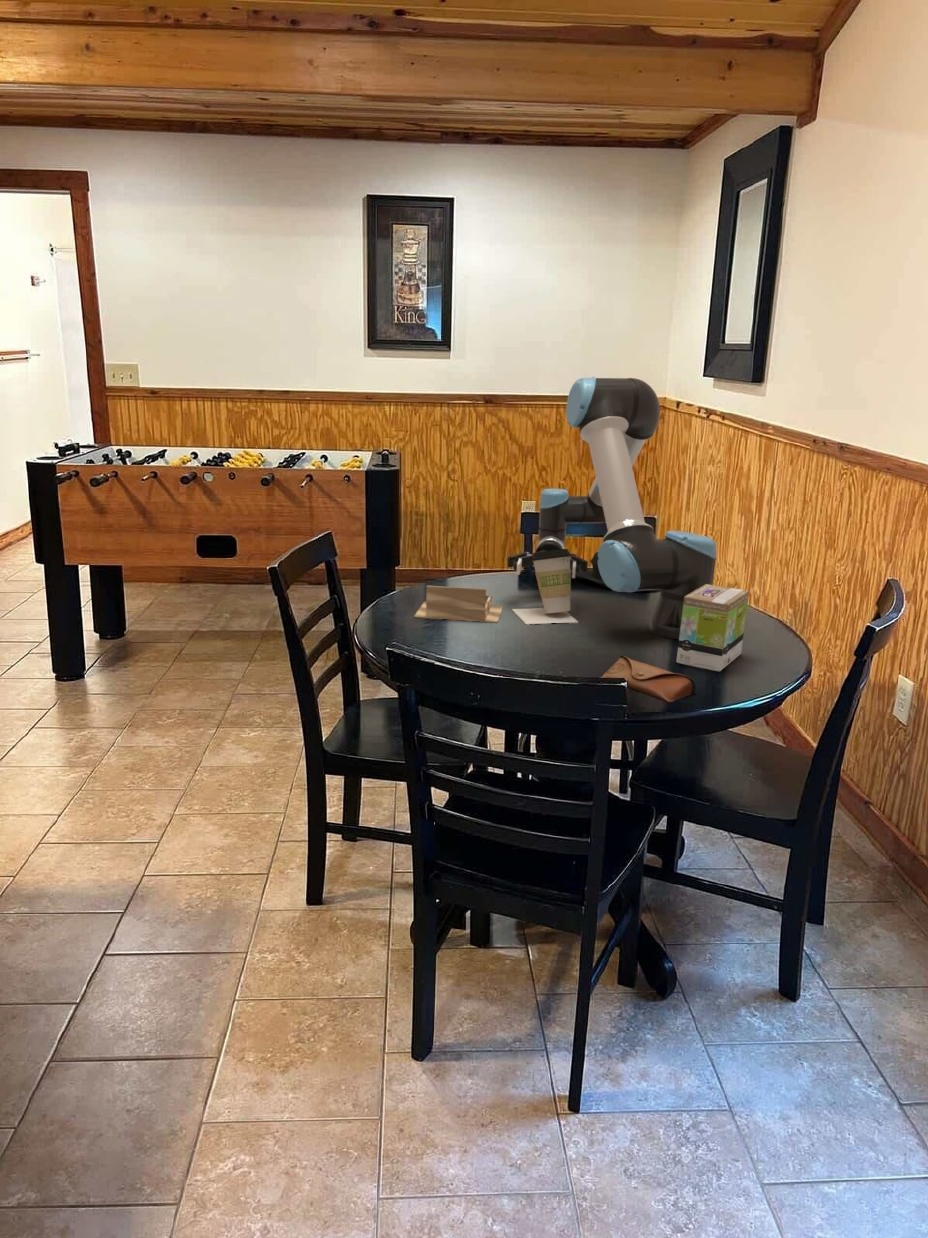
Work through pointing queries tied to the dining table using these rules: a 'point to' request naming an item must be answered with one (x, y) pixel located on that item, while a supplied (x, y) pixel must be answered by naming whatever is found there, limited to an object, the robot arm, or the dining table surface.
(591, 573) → the black brimmed hat
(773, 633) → the dining table surface
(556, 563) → the coffee cup
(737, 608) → the tea box
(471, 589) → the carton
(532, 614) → the mat
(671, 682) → the sunglasses case
